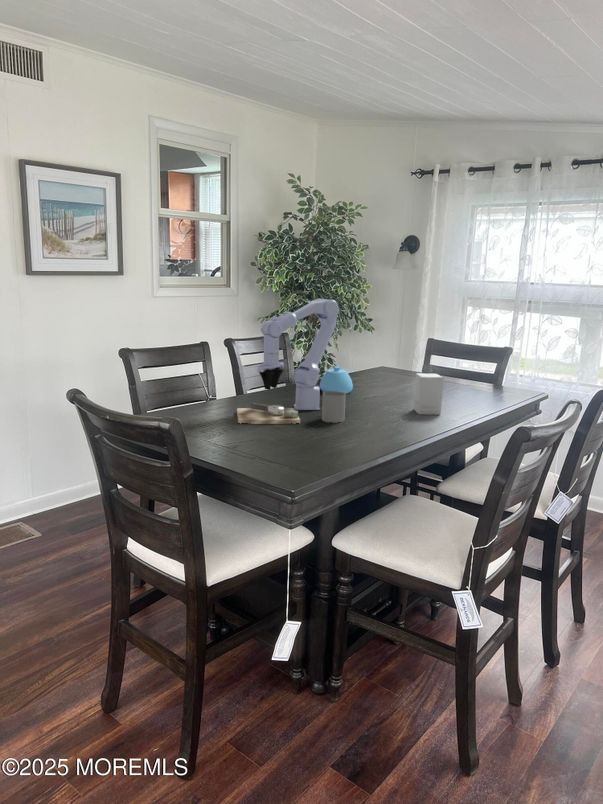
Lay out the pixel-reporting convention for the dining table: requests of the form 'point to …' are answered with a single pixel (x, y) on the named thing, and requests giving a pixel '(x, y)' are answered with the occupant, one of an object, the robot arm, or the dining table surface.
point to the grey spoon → (269, 408)
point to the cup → (333, 406)
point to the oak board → (267, 416)
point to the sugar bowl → (336, 381)
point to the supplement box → (428, 393)
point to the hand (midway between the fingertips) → (270, 388)
